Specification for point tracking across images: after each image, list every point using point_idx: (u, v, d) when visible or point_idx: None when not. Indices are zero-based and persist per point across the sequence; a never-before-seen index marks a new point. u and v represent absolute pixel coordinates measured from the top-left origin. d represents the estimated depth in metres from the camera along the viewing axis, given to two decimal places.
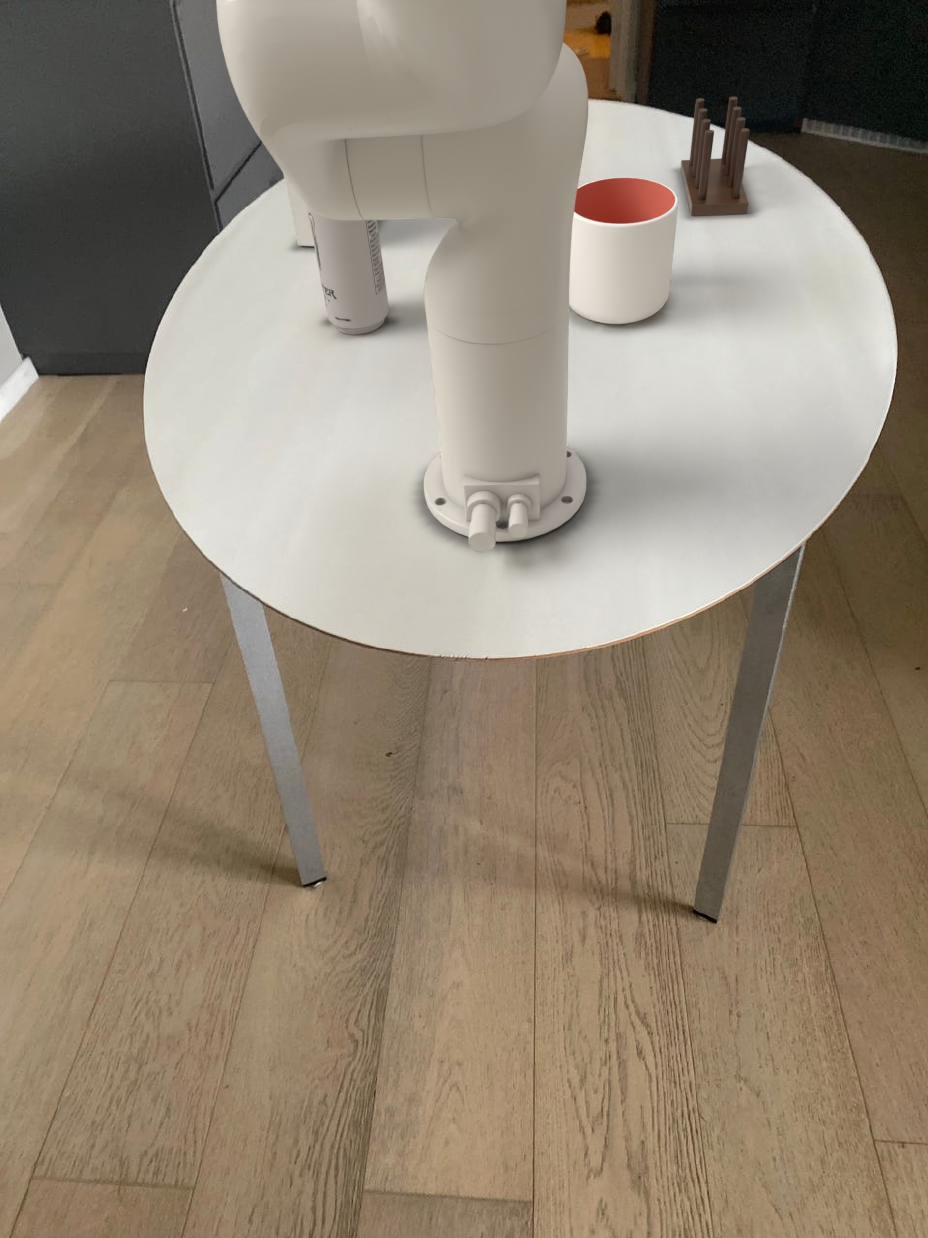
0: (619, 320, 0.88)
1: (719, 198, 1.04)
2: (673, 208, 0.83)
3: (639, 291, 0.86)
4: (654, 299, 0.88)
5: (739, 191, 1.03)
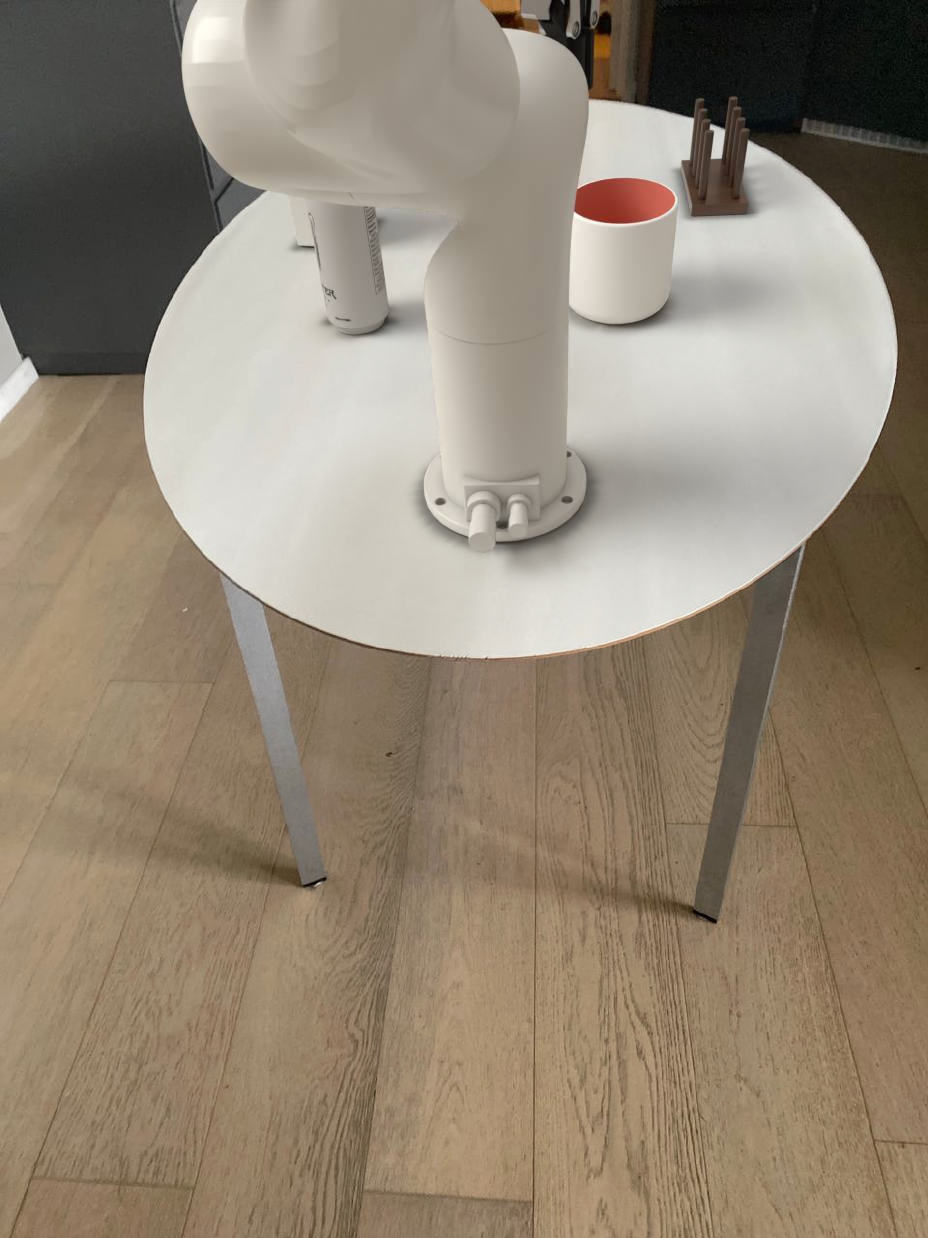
0: (619, 320, 0.88)
1: (719, 198, 1.04)
2: (673, 208, 0.83)
3: (639, 291, 0.86)
4: (654, 299, 0.88)
5: (739, 191, 1.03)
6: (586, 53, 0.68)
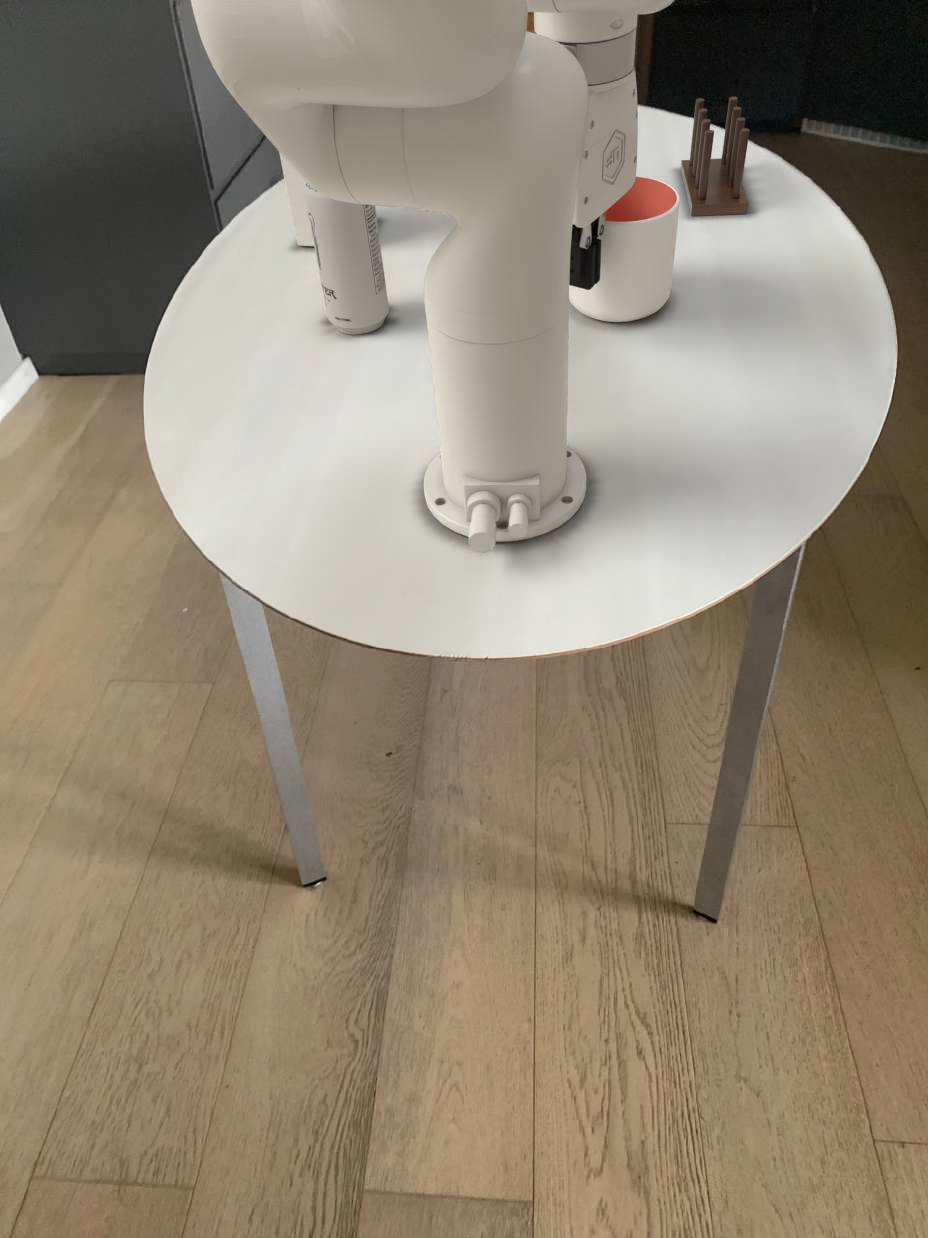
0: (621, 318, 0.89)
1: (719, 198, 1.04)
2: (675, 206, 0.84)
3: (641, 288, 0.87)
4: (656, 297, 0.88)
5: (739, 191, 1.03)
6: (594, 257, 0.82)
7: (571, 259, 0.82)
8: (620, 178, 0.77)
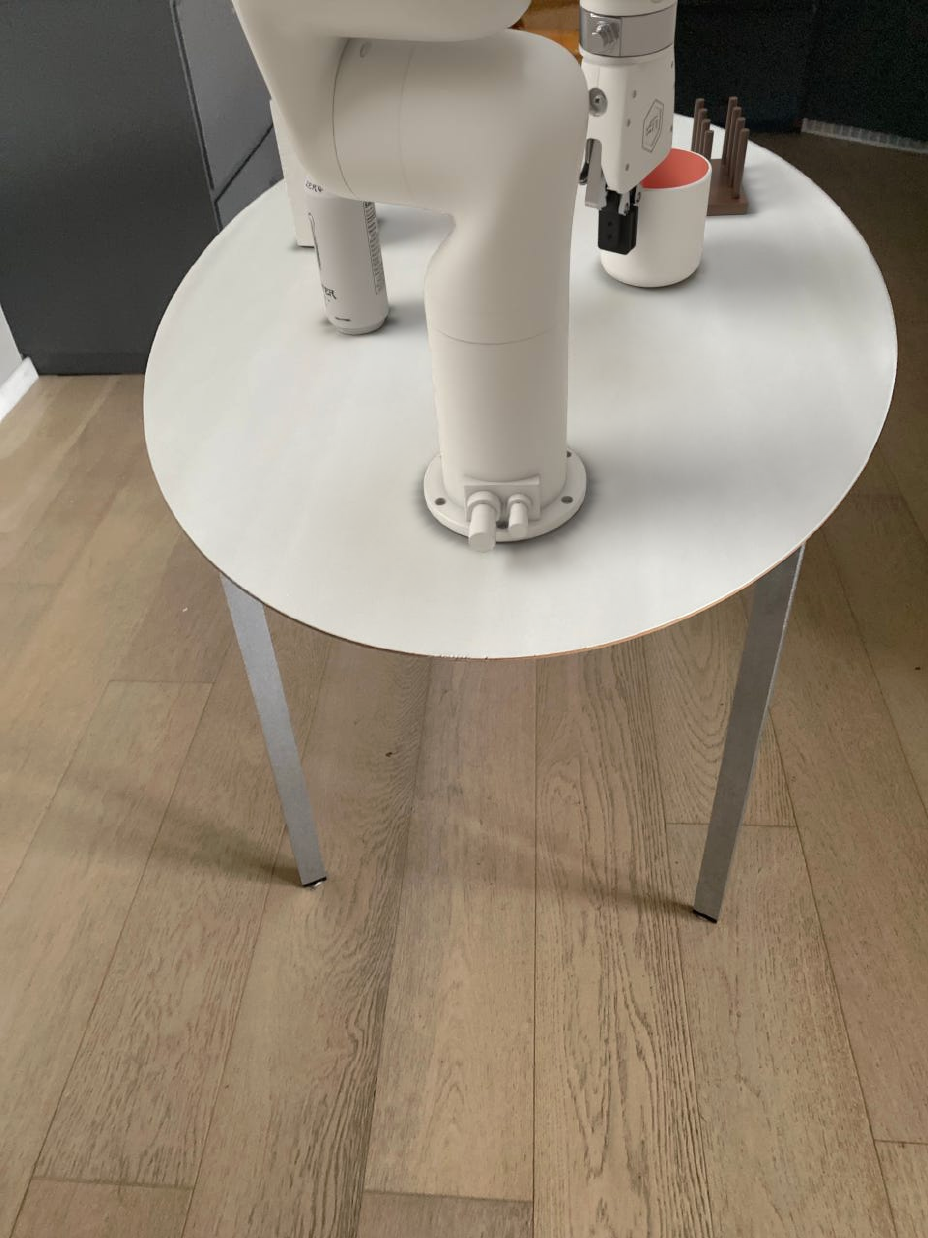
0: (654, 283, 0.93)
1: (719, 198, 1.04)
2: (707, 174, 0.88)
3: (674, 254, 0.91)
4: (687, 263, 0.92)
5: (739, 191, 1.03)
6: (631, 223, 0.86)
7: (609, 225, 0.86)
8: (658, 146, 0.81)
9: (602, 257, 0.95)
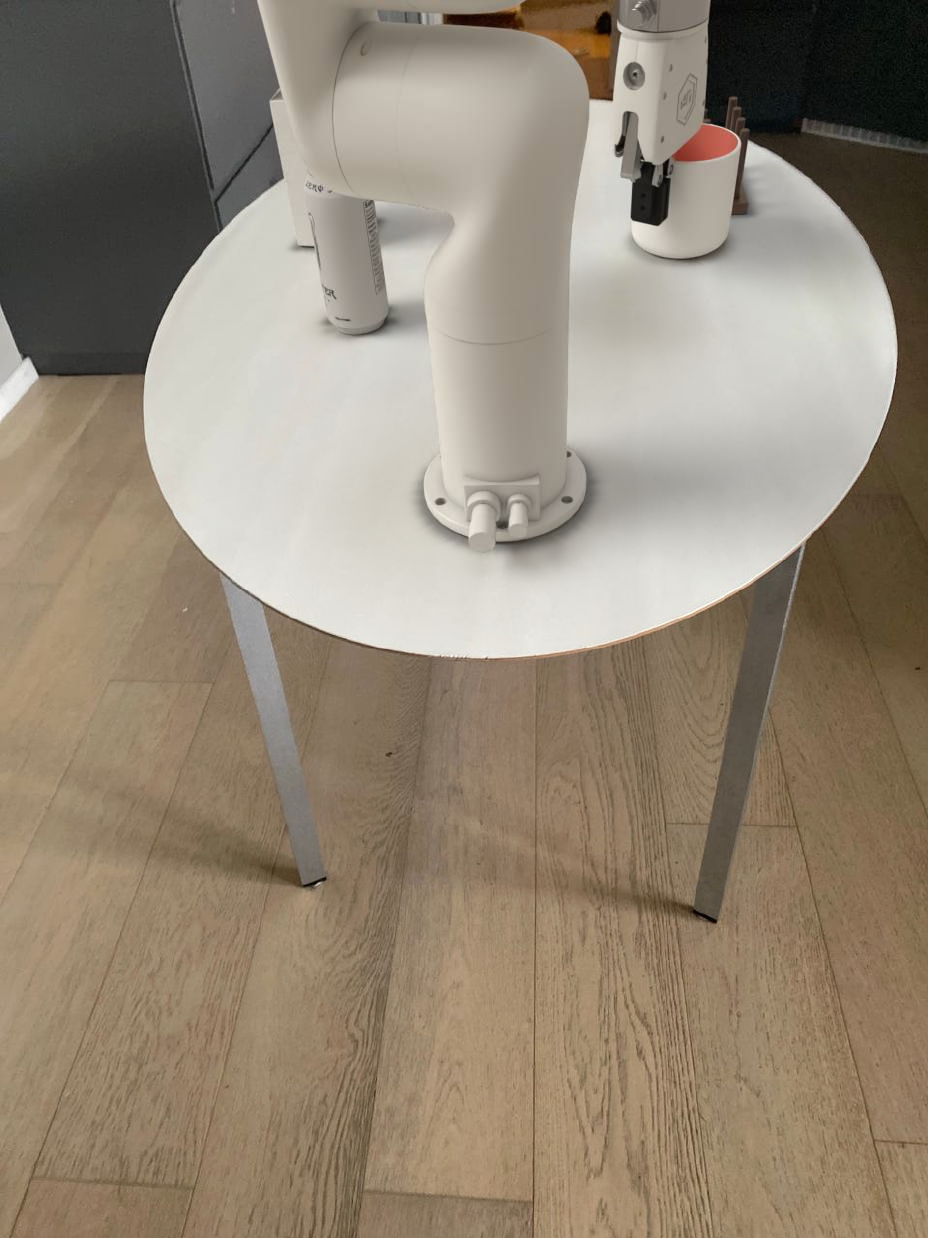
0: (684, 254, 0.96)
1: None
2: (737, 148, 0.91)
3: (704, 226, 0.94)
4: (716, 234, 0.96)
5: (739, 191, 1.03)
6: None
7: (643, 197, 0.89)
8: (691, 120, 0.85)
9: (633, 230, 0.98)
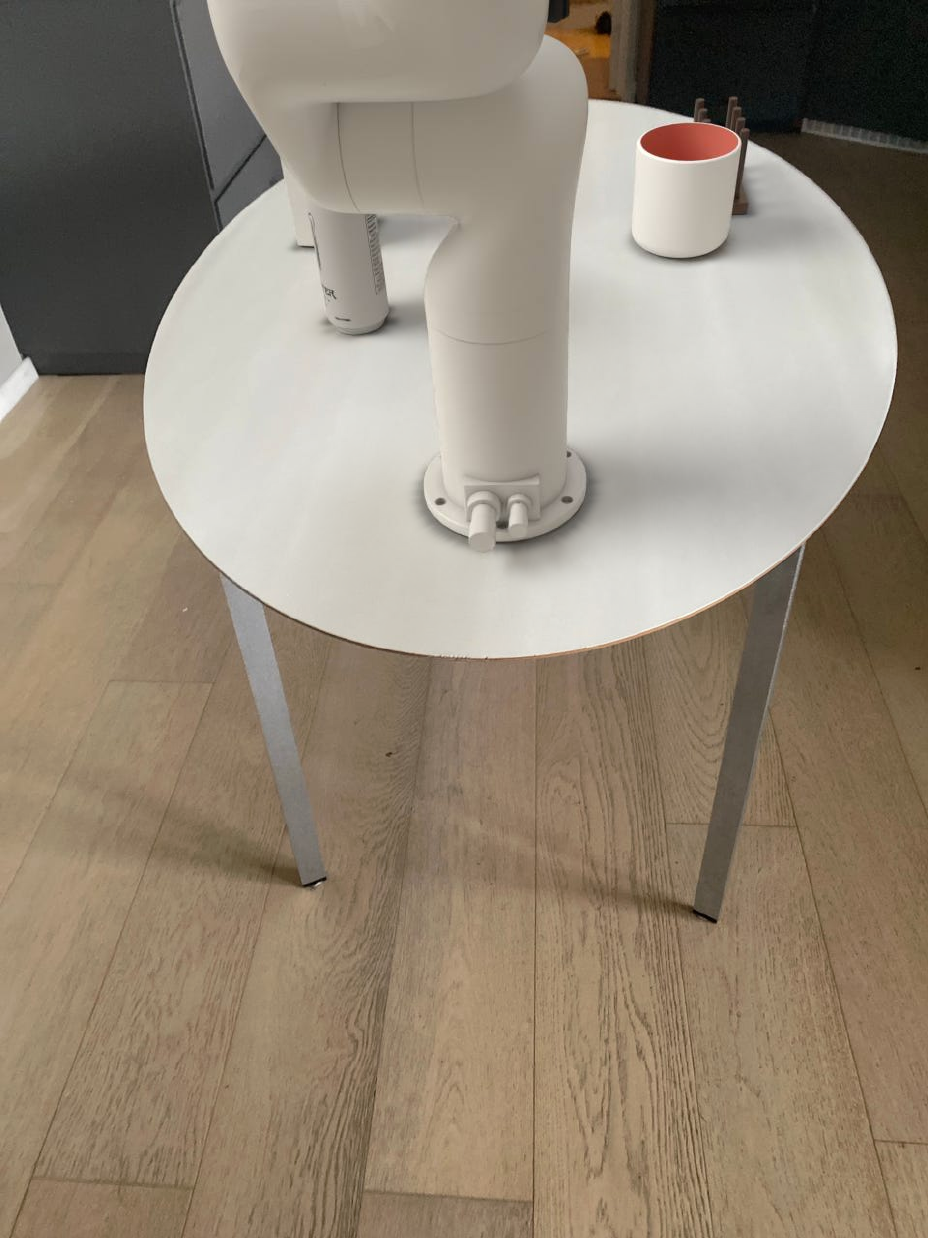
0: (684, 254, 0.96)
1: None
2: (737, 147, 0.91)
3: (704, 225, 0.94)
4: (717, 234, 0.96)
5: (739, 191, 1.03)
6: None
7: None
8: None
9: (633, 229, 0.98)
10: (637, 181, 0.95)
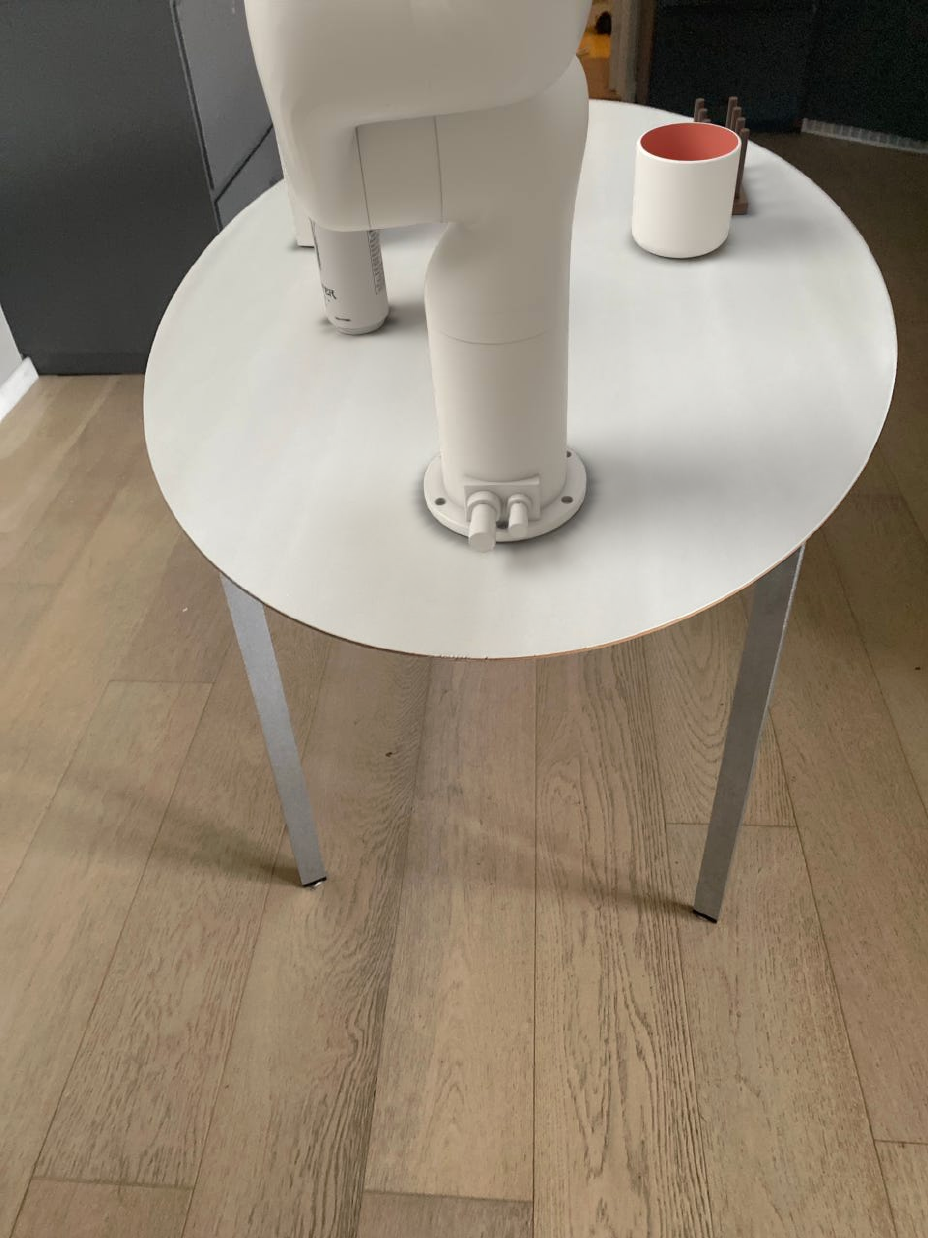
0: (684, 254, 0.96)
1: None
2: (737, 147, 0.91)
3: (704, 225, 0.94)
4: (717, 234, 0.96)
5: (739, 191, 1.03)
6: None
7: None
8: None
9: (633, 229, 0.98)
10: (637, 181, 0.95)
